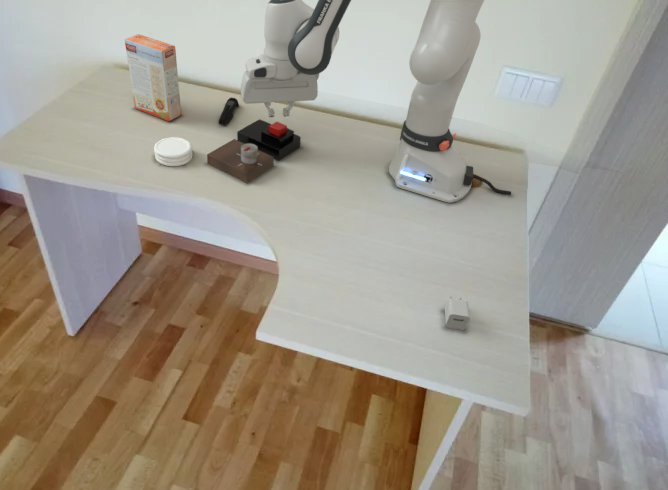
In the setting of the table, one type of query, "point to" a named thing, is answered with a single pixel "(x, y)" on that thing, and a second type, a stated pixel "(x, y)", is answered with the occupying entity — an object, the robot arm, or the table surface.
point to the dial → (249, 153)
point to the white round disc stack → (173, 151)
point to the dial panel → (239, 162)
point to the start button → (277, 129)
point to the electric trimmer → (228, 111)
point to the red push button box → (269, 139)
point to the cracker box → (153, 76)
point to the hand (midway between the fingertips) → (278, 115)
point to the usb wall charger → (457, 314)
